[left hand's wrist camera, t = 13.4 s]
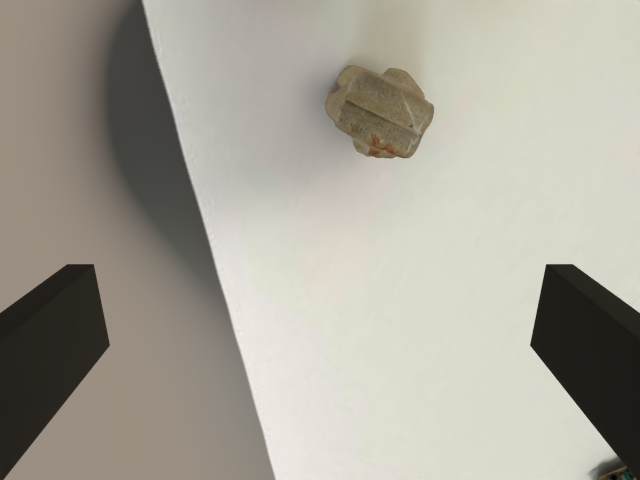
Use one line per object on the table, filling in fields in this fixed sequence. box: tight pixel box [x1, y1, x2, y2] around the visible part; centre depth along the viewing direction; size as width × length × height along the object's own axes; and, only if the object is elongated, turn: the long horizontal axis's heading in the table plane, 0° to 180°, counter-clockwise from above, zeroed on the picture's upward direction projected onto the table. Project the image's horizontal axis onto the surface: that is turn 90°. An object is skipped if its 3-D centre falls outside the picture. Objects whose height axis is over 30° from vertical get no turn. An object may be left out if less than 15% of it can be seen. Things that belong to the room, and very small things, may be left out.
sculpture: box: [325, 66, 434, 158], centre depth 30 cm, size 6×7×15 cm
